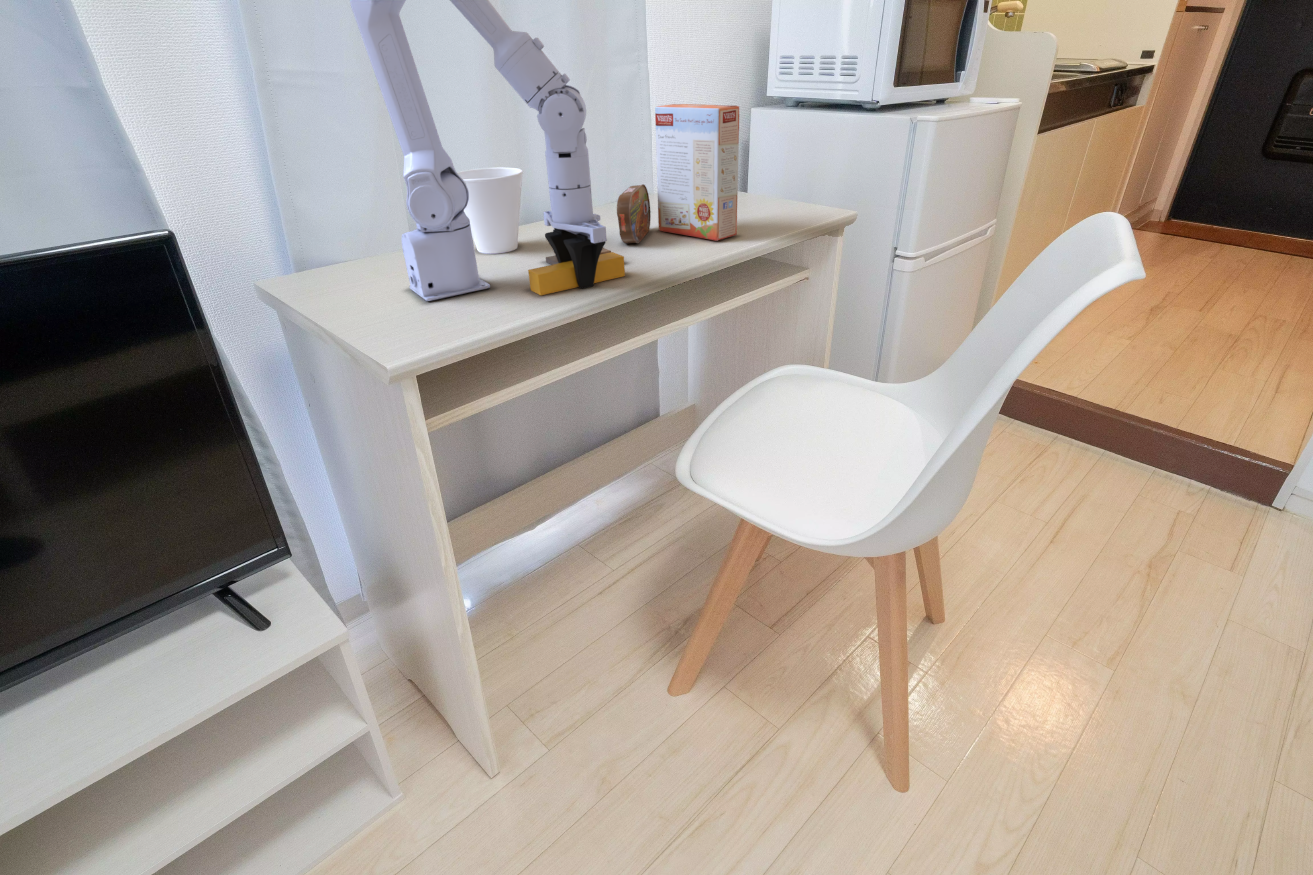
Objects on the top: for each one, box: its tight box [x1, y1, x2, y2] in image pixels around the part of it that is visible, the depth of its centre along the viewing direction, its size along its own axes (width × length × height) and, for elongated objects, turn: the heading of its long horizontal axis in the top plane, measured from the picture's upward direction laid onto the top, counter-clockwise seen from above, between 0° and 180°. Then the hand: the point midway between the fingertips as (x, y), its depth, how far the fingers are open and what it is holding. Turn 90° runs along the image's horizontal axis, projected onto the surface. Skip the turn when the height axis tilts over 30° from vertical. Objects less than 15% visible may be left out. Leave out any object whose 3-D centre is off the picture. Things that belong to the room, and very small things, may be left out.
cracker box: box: [654, 103, 740, 242], centre depth 120 cm, size 14×6×21 cm, turn 46°
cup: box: [456, 166, 524, 255], centre depth 117 cm, size 12×12×12 cm
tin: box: [616, 184, 652, 244], centre depth 122 cm, size 15×3×8 cm, turn 168°
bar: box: [527, 251, 626, 296], centre depth 101 cm, size 14×3×3 cm, turn 125°
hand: (578, 283), depth 101 cm, fingers open, 4 cm apart
